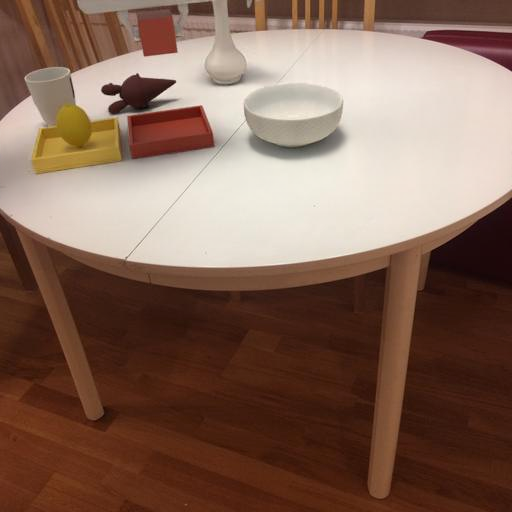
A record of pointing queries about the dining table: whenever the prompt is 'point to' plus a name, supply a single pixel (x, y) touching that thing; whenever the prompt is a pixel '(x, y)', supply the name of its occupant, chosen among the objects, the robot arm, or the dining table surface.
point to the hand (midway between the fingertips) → (157, 39)
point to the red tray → (169, 131)
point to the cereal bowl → (293, 113)
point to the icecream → (136, 92)
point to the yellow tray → (77, 148)
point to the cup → (51, 91)
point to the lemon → (74, 125)
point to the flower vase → (224, 49)
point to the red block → (157, 32)
